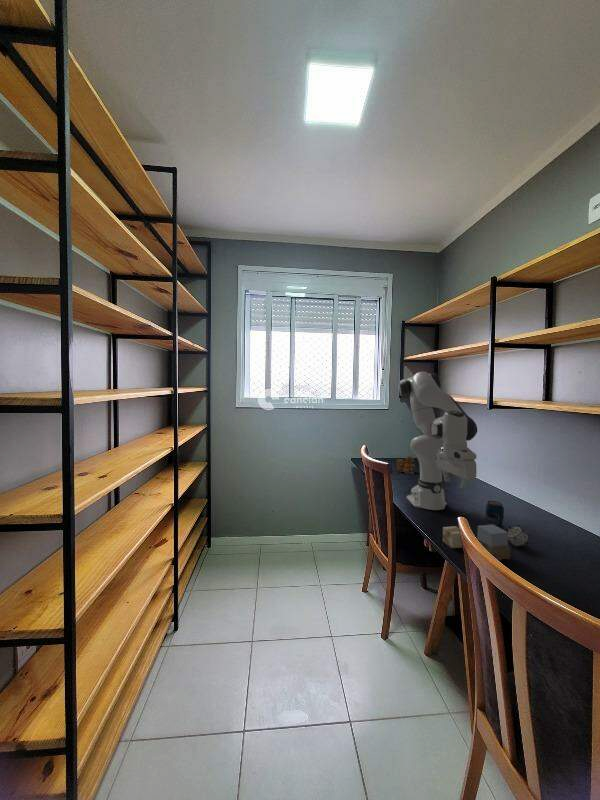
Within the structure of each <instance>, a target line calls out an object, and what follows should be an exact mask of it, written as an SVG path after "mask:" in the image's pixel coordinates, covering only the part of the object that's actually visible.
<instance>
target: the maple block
mask: <svg viewBox="0 0 600 800" xmlns="http://www.w3.org/2000/svg"><path fill="white" fill-rule="evenodd" d="M459 529H460V527H458V526H456V525H455V526H453V525H451V526H443V527H442V542H443V543H445V544H446V545H447V546H448V547H449V548H451V549H458V548H459V549H460V548H463V547H462V543H461V538H460V532H459Z"/></svg>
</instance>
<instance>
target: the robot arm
mask: <svg viewBox="0 0 600 800" xmlns="http://www.w3.org/2000/svg"><path fill="white" fill-rule="evenodd" d="M441 385H442V383H441V379H440V377H439V375H438V374H437V373H435V372H434V373H433V372H431V373H428V372H426V371H419V372H416V373H415V374H414V375H413V376H412V377H408V378H404V379H401V380H399V381H398V384H397V391H398V393H399V395H400V397H401V398H404V399H408V398H409V400H410V401H409V403H410V410H411V414H412V417H413V422H414V424H415V427H416V428H417V429H418V430H420V431H421V432H422V433H423V434H421V435H419V436H416V437H414V438H412V439H411V441H410V444H409V446H410V450H411V452H412V453H413V454H414V455H415V456H416V458H417V460H418V463H419V478H418V477H417V481H418V482H417V485H414V486H413V487H412V488H411V490H410V494H408V495H407V496H406V499H407V500H408V501H409V502H410V503H411V504H412V505H413V506H414V507H415V508H421V509H425V510H430V511H440V510H441V511H442V510H444V509H446V506H447V502H446V500H445V499H446V497H445V490H444V489H443V488H444V486H443V485H444V482H443V477H444V481H445V482H447V483H451V477H450V476H449V475H450V474H452V475H454V476H456V477H459V478H460V481H461V482H460V483H458V484H459V489H463V490H465V489H466V488H467V483H468V482H469V481H470V480H471V481H473V480H475V479H476V477H477V462H476V460H477V453H475V452H474V451H473V450H471V449H470V448H469V447H468V441H471V440H473V439H474V438H475V437H476V435H477V433H478V425H477V422H476V421H474V419H473V418H472V417H470V416H469V415H468V414H467V413H466V412H465V410H463V408H462V407H461V406H460V404H459V403H458V402H457V401H456V400H455V399H454V398H453V396H451V395H450V394H448V393H446V392H445V391H444V390H443V389H441ZM433 408H436V409H440V410H443V411H444V414H443V415H442V416H440V417H437V418H436V416H435V411H434V409H433Z"/></svg>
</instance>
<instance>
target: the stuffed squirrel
mask: <svg viewBox="0 0 600 800" xmlns="http://www.w3.org/2000/svg"><path fill="white" fill-rule="evenodd" d="M404 460H405V461H404ZM396 467H397V469H396V470H397V472H398V471H403V472H406V473H413V474H414V475H415V473H414V472H412V470H413V468H415V467H416V465H415V464H414V457H413V456H411V455H406V456H405V459H402V458H399V459H397V460H396Z"/></svg>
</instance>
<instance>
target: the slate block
mask: <svg viewBox="0 0 600 800" xmlns="http://www.w3.org/2000/svg"><path fill="white" fill-rule="evenodd" d="M477 538H478V539H479V540H481V541H482V542H484V543H486V544H487V545H489V546H490V547H498V546H508V545H509V544H508V541H509V540H508V532H507V530H504V528H503V529H501V528H499V527H497V526H495V525H485V524H484V525H477Z"/></svg>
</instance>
